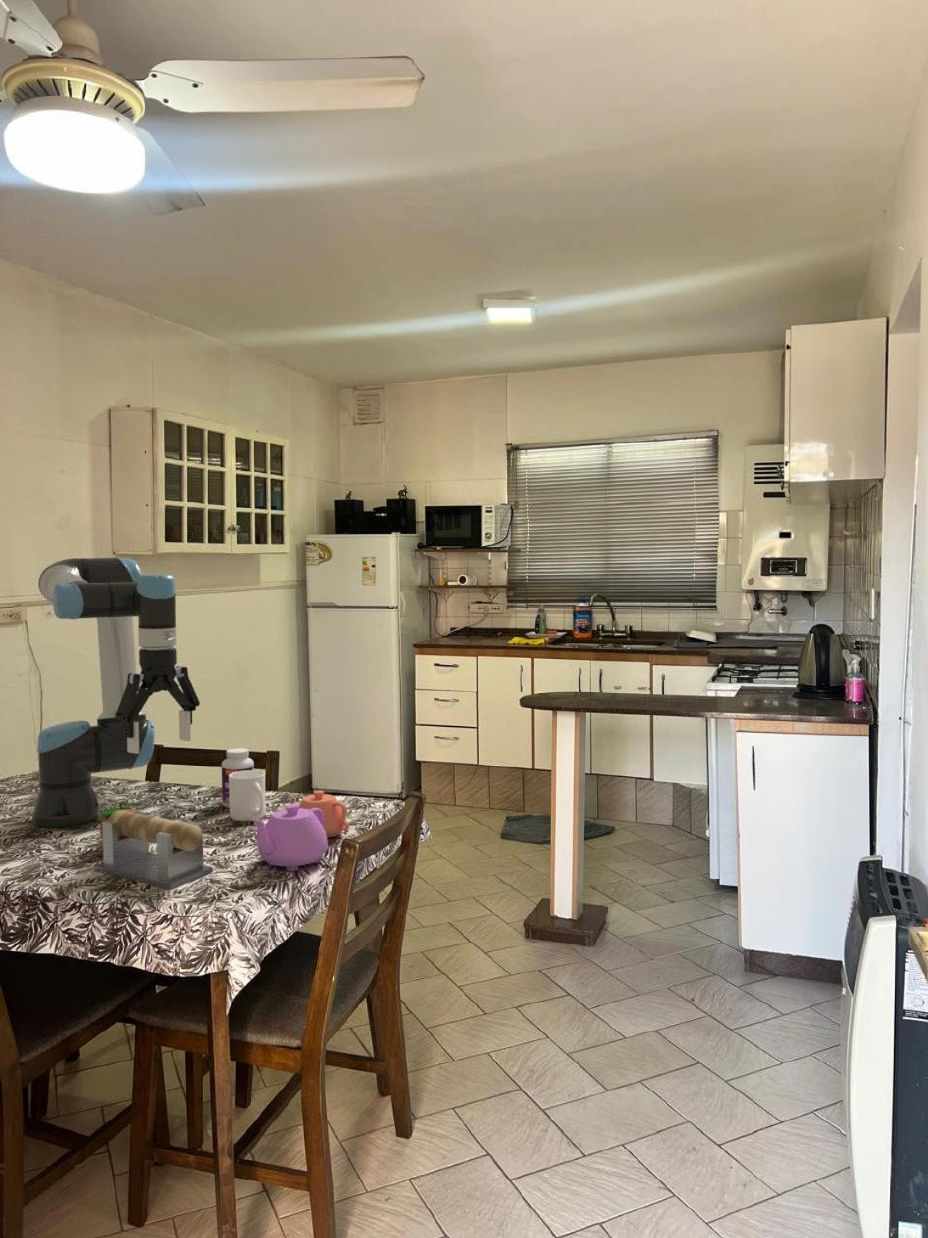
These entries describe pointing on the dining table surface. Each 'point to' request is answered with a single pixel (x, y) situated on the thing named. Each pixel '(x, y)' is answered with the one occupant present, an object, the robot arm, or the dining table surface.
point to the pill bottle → (234, 769)
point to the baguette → (156, 829)
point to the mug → (247, 795)
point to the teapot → (292, 837)
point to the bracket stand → (150, 859)
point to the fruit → (108, 813)
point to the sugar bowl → (328, 811)
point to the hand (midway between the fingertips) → (160, 746)
